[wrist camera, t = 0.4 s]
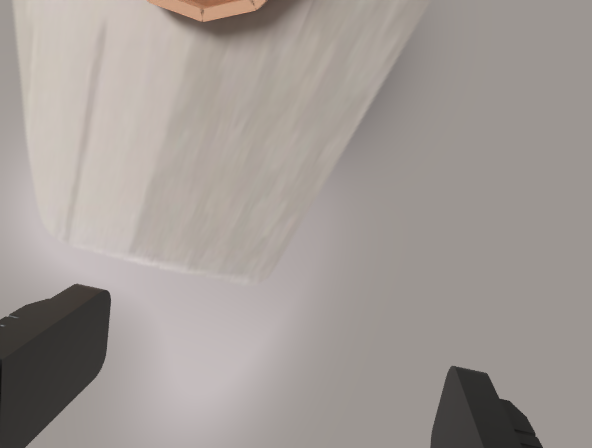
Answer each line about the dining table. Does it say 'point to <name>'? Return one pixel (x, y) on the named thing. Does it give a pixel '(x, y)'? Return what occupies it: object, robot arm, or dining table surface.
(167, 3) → the terracotta dish
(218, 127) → the dining table surface
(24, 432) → the robot arm
